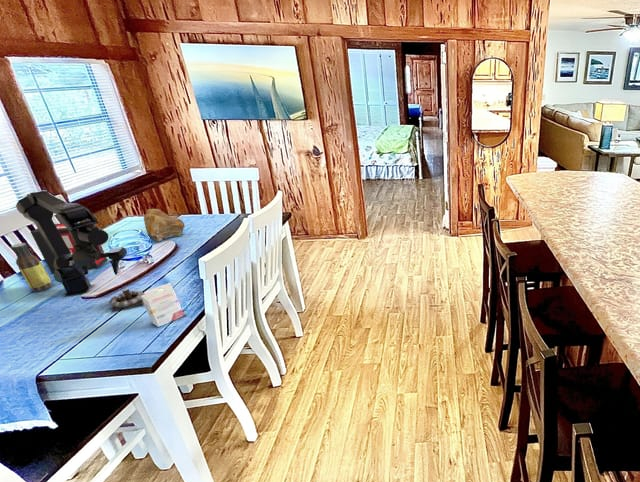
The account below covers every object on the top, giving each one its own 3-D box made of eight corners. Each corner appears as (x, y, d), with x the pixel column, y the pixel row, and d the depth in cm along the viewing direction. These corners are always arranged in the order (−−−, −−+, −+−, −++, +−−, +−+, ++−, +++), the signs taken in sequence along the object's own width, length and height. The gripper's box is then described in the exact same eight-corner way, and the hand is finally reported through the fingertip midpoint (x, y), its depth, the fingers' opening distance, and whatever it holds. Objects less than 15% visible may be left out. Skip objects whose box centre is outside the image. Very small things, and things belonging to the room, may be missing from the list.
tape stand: (112, 311, 147) (106, 297, 144) (119, 299, 154) (113, 286, 152) (142, 305, 151) (137, 292, 148) (147, 294, 158) (142, 281, 155)
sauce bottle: (57, 284, 164) (35, 241, 155) (43, 292, 158) (19, 248, 150) (41, 284, 163) (19, 241, 155) (26, 292, 158) (2, 248, 149)
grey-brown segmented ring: (106, 310, 145) (104, 306, 144) (114, 297, 154) (113, 293, 153) (141, 304, 150) (139, 299, 149) (147, 291, 158) (145, 287, 157)
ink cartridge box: (178, 312, 147) (165, 278, 141) (184, 316, 145) (172, 282, 139) (151, 323, 141) (137, 288, 134) (157, 327, 138) (143, 292, 132)
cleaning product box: (51, 273, 172) (30, 232, 163) (63, 264, 179) (44, 224, 171) (97, 268, 177) (79, 228, 168) (107, 260, 184) (90, 221, 176)
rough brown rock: (187, 241, 207) (181, 214, 202) (146, 246, 198) (140, 218, 192) (186, 229, 224) (181, 204, 219) (149, 232, 215) (142, 206, 210)
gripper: (39, 253, 130) (59, 292, 137) (111, 243, 138) (126, 281, 145) (53, 240, 139) (71, 278, 146) (119, 232, 147) (134, 268, 154)
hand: (100, 276), depth 147 cm, fingers open, 9 cm apart
